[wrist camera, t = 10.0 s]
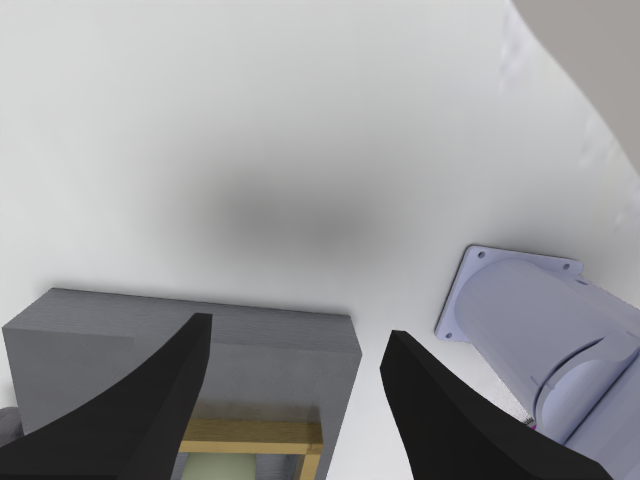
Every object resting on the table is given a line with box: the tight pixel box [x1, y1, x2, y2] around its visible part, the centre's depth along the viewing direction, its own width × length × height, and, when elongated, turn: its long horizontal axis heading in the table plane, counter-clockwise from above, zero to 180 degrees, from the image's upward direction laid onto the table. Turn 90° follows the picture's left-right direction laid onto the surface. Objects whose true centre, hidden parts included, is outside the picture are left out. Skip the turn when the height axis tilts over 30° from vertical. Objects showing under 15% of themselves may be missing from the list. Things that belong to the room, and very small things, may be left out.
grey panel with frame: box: [0, 288, 362, 480], centre depth 23 cm, size 23×22×6 cm
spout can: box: [181, 452, 257, 480], centre depth 23 cm, size 5×5×8 cm
